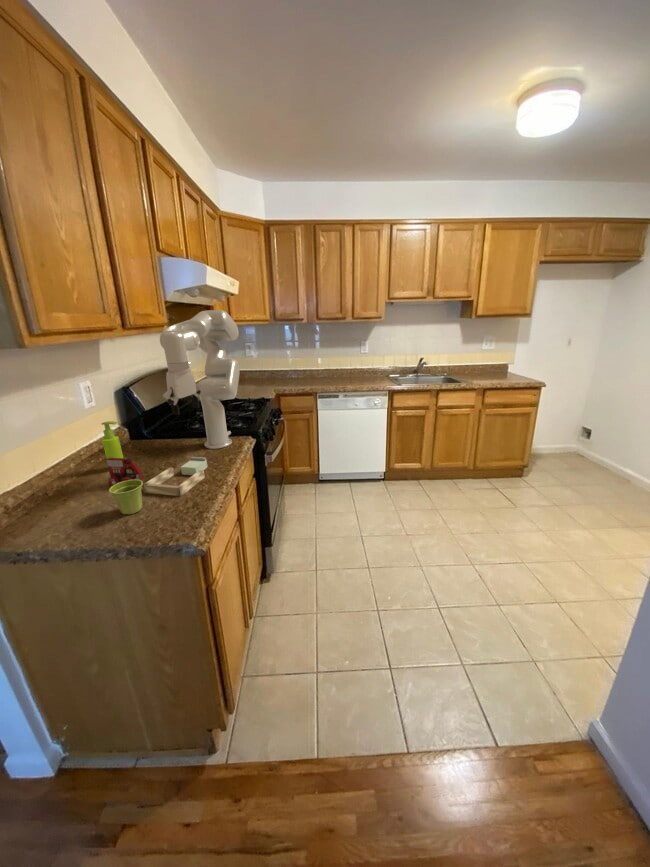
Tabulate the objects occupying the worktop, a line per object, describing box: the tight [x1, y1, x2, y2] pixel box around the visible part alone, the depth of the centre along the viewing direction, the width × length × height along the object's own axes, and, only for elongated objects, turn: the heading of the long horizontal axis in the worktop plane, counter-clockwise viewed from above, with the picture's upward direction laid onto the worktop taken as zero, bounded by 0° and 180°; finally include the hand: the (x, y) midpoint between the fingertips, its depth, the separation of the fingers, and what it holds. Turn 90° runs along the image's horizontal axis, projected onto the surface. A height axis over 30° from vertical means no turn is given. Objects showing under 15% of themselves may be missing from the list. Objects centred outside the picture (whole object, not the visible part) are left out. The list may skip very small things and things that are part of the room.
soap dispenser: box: [101, 420, 124, 460], centre depth 144 cm, size 6×7×20 cm
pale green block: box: [180, 456, 208, 476], centre depth 141 cm, size 8×6×4 cm
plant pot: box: [108, 480, 144, 515], centre depth 113 cm, size 9×9×9 cm
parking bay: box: [142, 467, 206, 497], centre depth 130 cm, size 15×15×3 cm
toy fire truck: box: [105, 457, 144, 487], centre depth 131 cm, size 7×12×10 cm, turn 82°
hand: (186, 410), depth 137 cm, fingers open, 9 cm apart
